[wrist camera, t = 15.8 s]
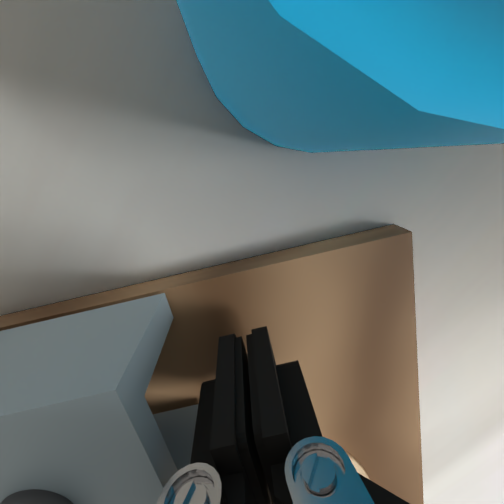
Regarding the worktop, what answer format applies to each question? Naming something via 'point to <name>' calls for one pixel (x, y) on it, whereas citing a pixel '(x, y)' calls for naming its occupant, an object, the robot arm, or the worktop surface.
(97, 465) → the cover
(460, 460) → the worktop surface
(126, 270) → the worktop surface
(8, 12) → the worktop surface
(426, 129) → the mug
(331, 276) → the board
